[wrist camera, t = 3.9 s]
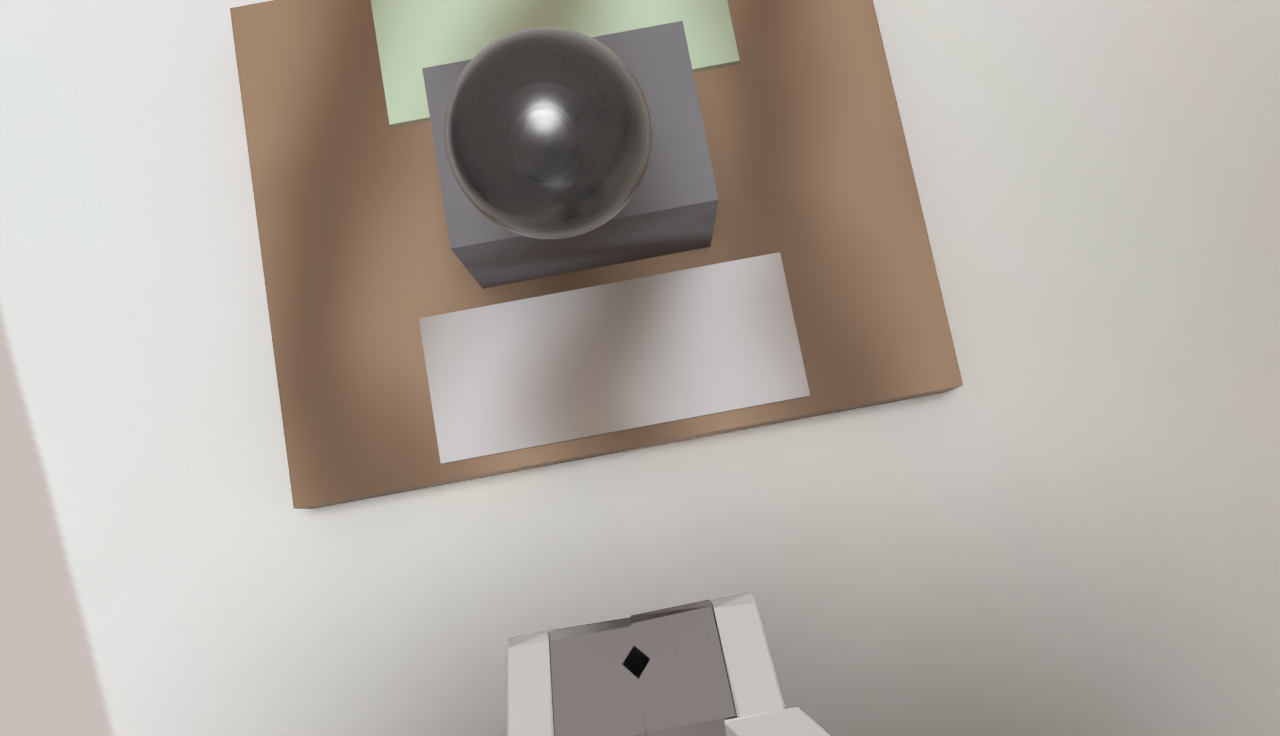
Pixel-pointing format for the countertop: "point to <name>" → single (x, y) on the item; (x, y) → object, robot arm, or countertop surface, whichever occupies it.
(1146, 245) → the countertop surface
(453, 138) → the toggle lever
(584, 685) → the robot arm
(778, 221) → the switch board
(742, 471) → the countertop surface
